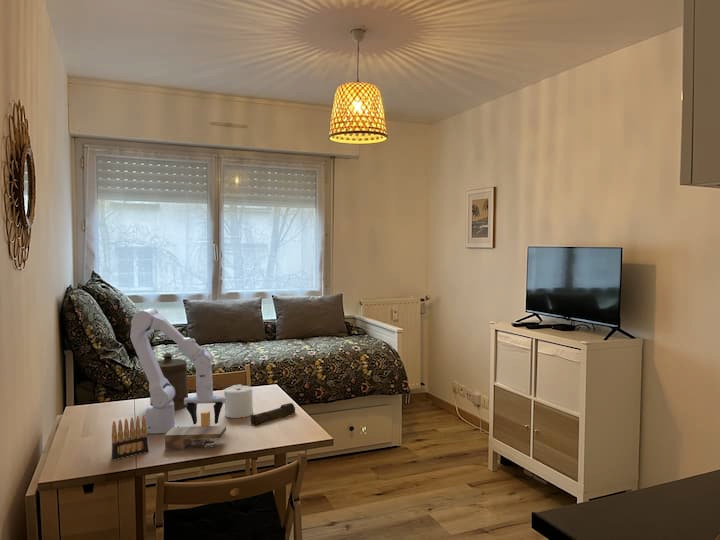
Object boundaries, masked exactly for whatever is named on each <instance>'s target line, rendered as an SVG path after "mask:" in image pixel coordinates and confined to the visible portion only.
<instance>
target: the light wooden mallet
mask: <svg viewBox="0 0 720 540" xmlns="http://www.w3.org/2000/svg"><path fill="white" fill-rule="evenodd" d="M200 426H211V411H210V410H203V411H201V413H200ZM194 440H199V439H193V441H194ZM199 441H200V440H199Z"/></svg>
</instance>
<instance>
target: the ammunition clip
mask: <svg viewBox="0 0 720 540" xmlns="http://www.w3.org/2000/svg"><path fill="white" fill-rule="evenodd" d="M140 421H141V422H140ZM123 426H124V429H123ZM111 427H112V428H111V459H112V460H113V461H114V459H115V460H118V458H119V459H123V458H122V457H124V458H128V457H132V456H131V455H133V456H136V455H135V454H137V455H140V454H139V453H142V454H145V453H144V452H146V453H149V443H148V434H147V428H146V418H145V415H144V414H142V417H141V420H140V418H139V416H136V418H135V420H134V418H133V417H130V422H129V421H128V419H127V418H125V419H124V425H123V422H122V420H121V419H119V420H118V426H117V424H116V422H115V420H113V421H112V426H111ZM117 427H118V428H117ZM117 429H118V430H117ZM127 456H128V457H127Z"/></svg>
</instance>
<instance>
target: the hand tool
mask: <svg viewBox="0 0 720 540" xmlns="http://www.w3.org/2000/svg"><path fill="white" fill-rule="evenodd" d="M295 413H296V407H295V405H294V404H293V403H292V402H289V403H284V404H281V405H280V407H279V408H275V409H271V410H267V411H264V412H260V413H257V414H252V415H250V423H251V424H252V425H253V424H254V426H257V425H261V423H264V422H267V421H271V420H274V419H275V420H276V419H278V418H287V417H289V415H290V416H292V415H294V414H295Z"/></svg>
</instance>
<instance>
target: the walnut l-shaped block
mask: <svg viewBox="0 0 720 540" xmlns="http://www.w3.org/2000/svg"><path fill="white" fill-rule="evenodd" d="M225 432H227V425H210V426H201V425H200V426H199V425H198V426H197V425H195V426H178V427H172V428H171V429H170V430H169V431H168V432H167V433H164V450H165V451H185V449H186V448H187V447H188V445H190V443H191V442H192V440H194V439H200V440H207V439H216V440H217V439H221V438H222V437H223V436H224V434H225ZM190 441H191V442H190ZM186 446H187V447H186Z"/></svg>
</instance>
